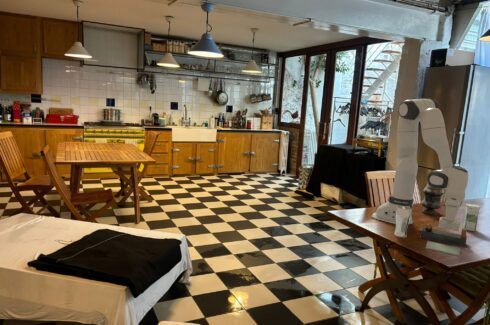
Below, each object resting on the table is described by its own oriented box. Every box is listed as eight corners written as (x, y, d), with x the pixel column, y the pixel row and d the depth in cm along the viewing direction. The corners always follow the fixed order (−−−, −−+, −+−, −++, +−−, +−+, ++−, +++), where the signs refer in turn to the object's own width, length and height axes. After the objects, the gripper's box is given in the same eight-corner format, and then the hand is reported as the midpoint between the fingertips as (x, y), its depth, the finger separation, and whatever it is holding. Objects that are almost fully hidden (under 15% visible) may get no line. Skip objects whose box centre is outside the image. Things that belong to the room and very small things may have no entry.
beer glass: (395, 232, 192) (399, 204, 190) (409, 235, 188) (413, 207, 186) (391, 235, 187) (394, 207, 185) (405, 238, 183) (409, 210, 180)
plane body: (420, 237, 186) (422, 222, 184) (421, 233, 192) (423, 219, 190) (465, 247, 175) (467, 231, 174) (465, 243, 181) (468, 228, 180)
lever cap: (438, 226, 182) (439, 217, 181) (438, 224, 186) (440, 215, 185) (458, 231, 177) (460, 222, 177) (458, 228, 182) (460, 219, 181)
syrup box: (473, 228, 205) (477, 204, 203) (475, 232, 200) (479, 206, 197) (462, 227, 207) (466, 202, 205) (464, 230, 202) (468, 205, 199)
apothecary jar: (439, 216, 226) (443, 188, 223) (418, 212, 232) (422, 185, 229) (441, 212, 236) (445, 185, 233) (420, 208, 242) (424, 182, 240)
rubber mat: (425, 248, 171) (425, 247, 171) (427, 242, 180) (427, 241, 180) (459, 256, 164) (459, 254, 164) (460, 249, 172) (460, 248, 172)
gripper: (447, 193, 190) (443, 218, 192) (445, 201, 172) (440, 228, 175) (461, 196, 186) (456, 221, 189) (460, 204, 169) (455, 232, 172)
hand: (448, 225), depth 182 cm, fingers closed on lever cap, 5 cm apart
